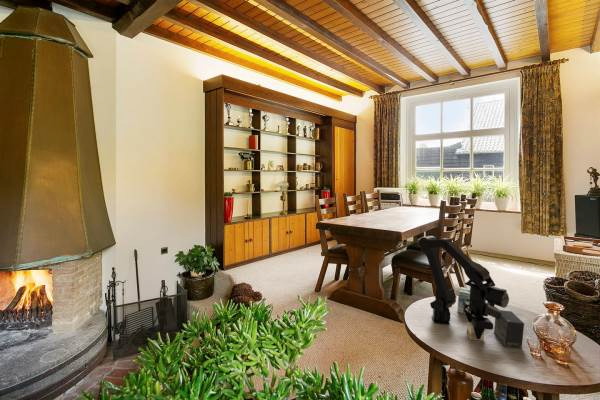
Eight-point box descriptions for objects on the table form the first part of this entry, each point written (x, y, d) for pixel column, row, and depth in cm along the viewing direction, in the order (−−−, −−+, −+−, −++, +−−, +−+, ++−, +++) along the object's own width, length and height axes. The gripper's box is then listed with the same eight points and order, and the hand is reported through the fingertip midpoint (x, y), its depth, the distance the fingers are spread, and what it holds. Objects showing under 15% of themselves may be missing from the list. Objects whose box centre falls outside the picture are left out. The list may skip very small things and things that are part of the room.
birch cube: (470, 339, 123) (471, 327, 122) (466, 332, 128) (467, 321, 127) (483, 340, 122) (484, 329, 121) (479, 334, 127) (480, 323, 126)
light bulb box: (457, 312, 146) (458, 290, 145) (458, 307, 152) (460, 286, 151) (482, 318, 140) (484, 296, 139) (483, 312, 146) (485, 291, 144)
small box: (523, 349, 116) (525, 323, 115) (504, 346, 117) (506, 321, 116) (510, 334, 126) (512, 310, 125) (493, 332, 128) (494, 309, 127)
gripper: (510, 310, 112) (507, 349, 114) (490, 291, 130) (488, 325, 132) (477, 307, 115) (474, 345, 116) (462, 288, 133) (460, 322, 134)
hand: (475, 334), depth 125 cm, fingers open, 7 cm apart
